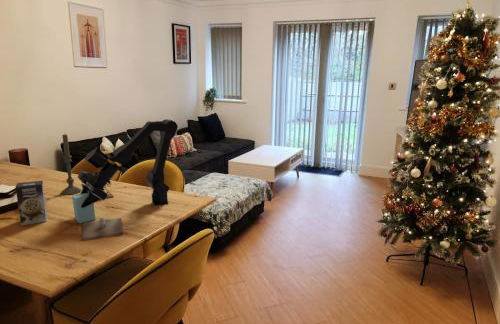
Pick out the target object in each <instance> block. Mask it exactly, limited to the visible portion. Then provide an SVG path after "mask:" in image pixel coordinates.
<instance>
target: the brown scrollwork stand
mask: <svg viewBox="0 0 500 324" xmlns="http://www.w3.org/2000/svg"><path fill="white" fill-rule="evenodd" d="M106 186H107V187H108V188H109V187H111V186H112V183H111V182H110V183H107V184H106V185H105V187H104V188H103V189H105V190H106V191H107V192H106V193H107V198H106V199H110V198H111V199H112V198H114V194H113V193H112V192H110V191H109V190H108V189H107V187H106Z"/></svg>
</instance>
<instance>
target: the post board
mask: <svg viewBox="0 0 500 324" xmlns="http://www.w3.org/2000/svg"><path fill="white" fill-rule="evenodd" d="M122 221H123V220H122V217H118V218H117V217H116V218H110V219H105V218H104V217H101V218H99V220H92V221H88V222H83V229H82V233H81V234H82V236H81V240H82V241H86V240H93V239H101V238H109V237H115V236H121V235H124V231H123V223H122Z"/></svg>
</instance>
